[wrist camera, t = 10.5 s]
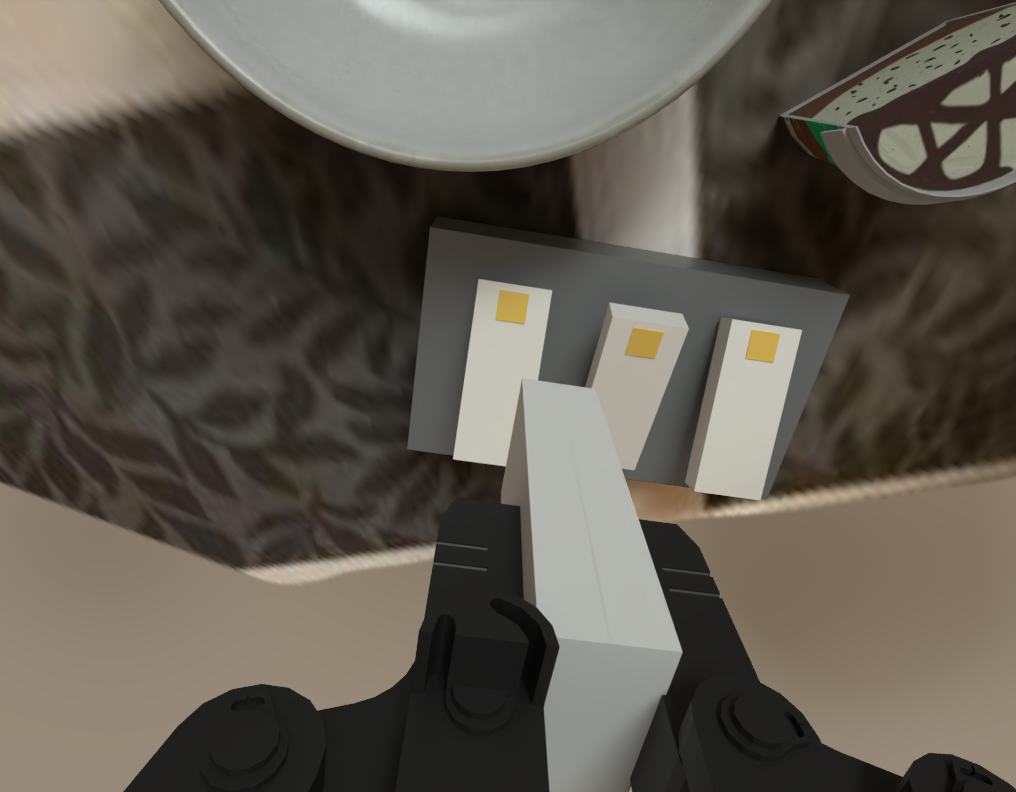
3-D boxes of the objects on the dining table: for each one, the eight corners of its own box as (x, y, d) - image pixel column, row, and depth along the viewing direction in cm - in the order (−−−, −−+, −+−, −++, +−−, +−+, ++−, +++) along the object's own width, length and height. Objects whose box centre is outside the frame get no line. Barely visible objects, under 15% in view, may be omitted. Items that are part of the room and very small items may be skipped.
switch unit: (437, 216, 36) (427, 230, 32) (816, 278, 38) (859, 300, 33) (415, 423, 42) (404, 460, 37) (744, 468, 44) (772, 509, 39)
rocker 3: (721, 317, 34) (732, 319, 33) (787, 327, 35) (802, 330, 33) (684, 482, 36) (694, 491, 34) (748, 490, 36) (761, 500, 35)
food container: (788, 226, 36) (881, 262, 27) (753, 130, 34) (843, 134, 25) (998, 115, 34) (1178, 114, 25) (975, 4, 32) (1165, -43, 23)
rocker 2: (609, 302, 32) (612, 317, 30) (682, 313, 32) (689, 329, 31) (568, 444, 37) (570, 462, 36) (631, 452, 38) (634, 471, 36)
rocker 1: (478, 280, 34) (478, 278, 32) (548, 291, 34) (552, 290, 32) (454, 452, 35) (453, 459, 33) (521, 461, 35) (523, 469, 34)
